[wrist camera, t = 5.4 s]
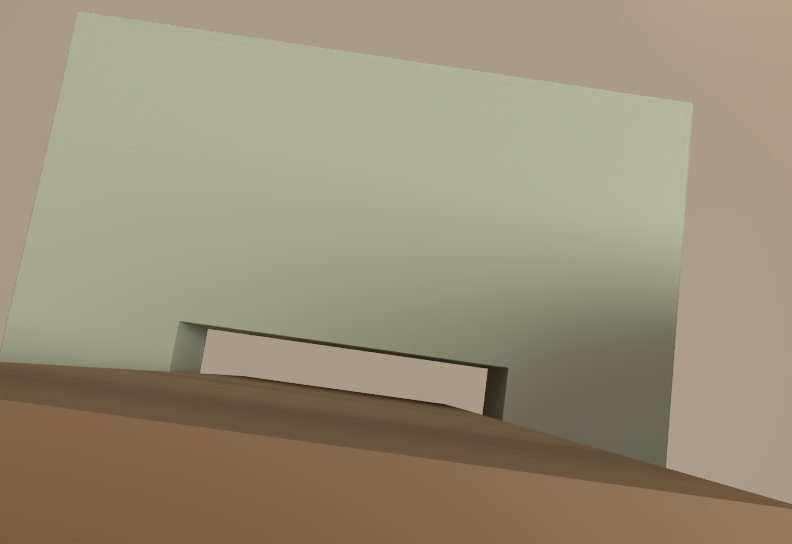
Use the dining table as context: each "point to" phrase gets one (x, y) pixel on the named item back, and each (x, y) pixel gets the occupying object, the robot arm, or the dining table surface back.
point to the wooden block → (323, 470)
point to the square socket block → (360, 222)
